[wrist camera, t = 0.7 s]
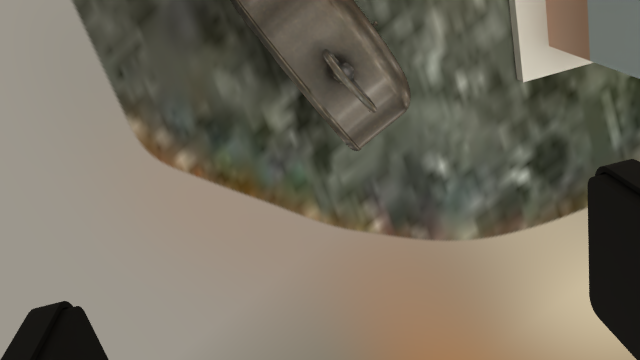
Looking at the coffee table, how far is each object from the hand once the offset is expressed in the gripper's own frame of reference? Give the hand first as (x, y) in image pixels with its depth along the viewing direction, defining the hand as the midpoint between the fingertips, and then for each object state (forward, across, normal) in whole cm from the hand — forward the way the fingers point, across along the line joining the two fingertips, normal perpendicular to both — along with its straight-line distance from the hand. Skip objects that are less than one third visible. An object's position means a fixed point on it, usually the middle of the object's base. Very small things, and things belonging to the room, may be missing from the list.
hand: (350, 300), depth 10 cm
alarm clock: (+29, -2, 0) cm, 29 cm away
